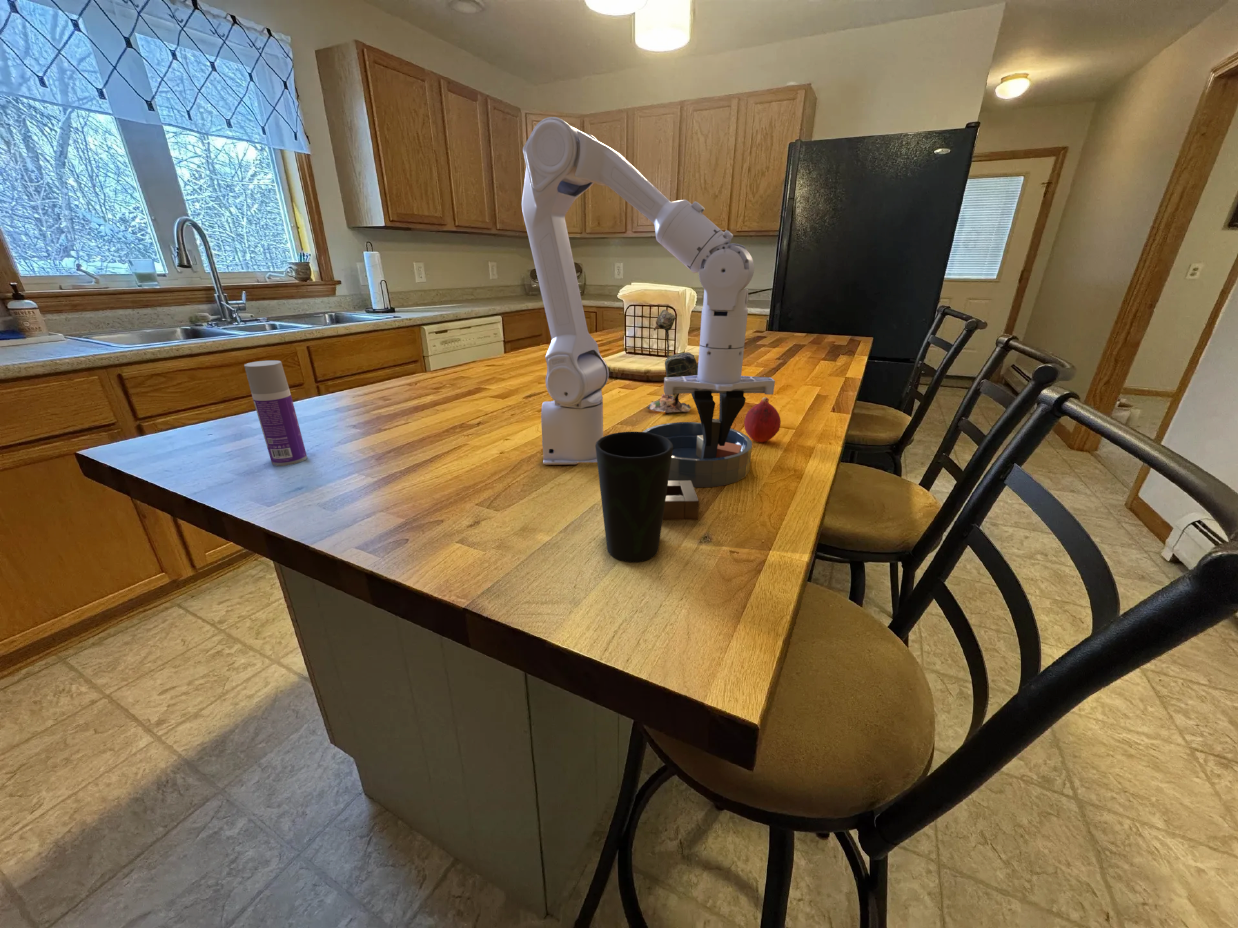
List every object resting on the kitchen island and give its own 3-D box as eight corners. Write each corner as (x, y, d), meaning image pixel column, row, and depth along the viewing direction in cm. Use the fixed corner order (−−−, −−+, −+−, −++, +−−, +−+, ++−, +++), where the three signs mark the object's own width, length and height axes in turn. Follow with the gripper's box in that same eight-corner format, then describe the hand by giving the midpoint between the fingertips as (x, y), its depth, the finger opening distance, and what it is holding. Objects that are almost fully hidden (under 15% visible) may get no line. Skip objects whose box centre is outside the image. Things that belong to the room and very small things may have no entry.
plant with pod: (691, 419, 95) (698, 312, 88) (640, 411, 101) (642, 309, 93) (707, 409, 102) (715, 309, 94) (658, 401, 107) (662, 306, 100)
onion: (779, 451, 80) (785, 403, 77) (742, 448, 81) (747, 401, 78) (775, 439, 85) (781, 394, 82) (741, 436, 86) (746, 392, 83)
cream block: (704, 462, 74) (706, 442, 73) (695, 454, 77) (696, 435, 76) (723, 460, 75) (725, 440, 74) (714, 452, 78) (715, 433, 76)
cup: (646, 576, 48) (649, 464, 44) (583, 553, 52) (579, 448, 47) (680, 541, 54) (686, 439, 50) (621, 523, 58) (621, 426, 53)
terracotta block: (712, 468, 71) (716, 448, 70) (716, 460, 74) (720, 440, 72) (735, 473, 70) (738, 453, 69) (738, 464, 73) (742, 445, 71)
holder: (648, 524, 58) (649, 501, 57) (645, 501, 63) (645, 480, 62) (697, 523, 58) (699, 501, 57) (689, 501, 63) (691, 480, 62)
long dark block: (701, 469, 70) (708, 421, 67) (699, 464, 72) (706, 418, 69) (714, 469, 70) (721, 422, 67) (712, 465, 72) (718, 418, 69)
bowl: (641, 491, 66) (641, 460, 64) (635, 448, 81) (635, 422, 79) (762, 490, 66) (766, 460, 65) (734, 447, 81) (736, 421, 80)
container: (314, 457, 77) (289, 361, 71) (284, 468, 73) (256, 367, 68) (294, 452, 79) (269, 359, 73) (264, 463, 75) (235, 364, 69)
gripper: (669, 350, 60) (665, 454, 65) (787, 350, 60) (773, 453, 66) (663, 341, 67) (660, 436, 72) (770, 341, 67) (758, 436, 72)
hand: (713, 443), depth 69 cm, fingers closed on long dark block, 1 cm apart
